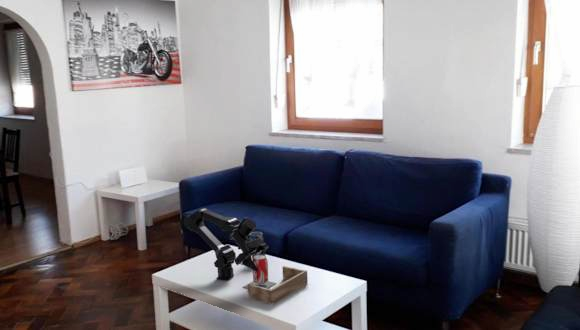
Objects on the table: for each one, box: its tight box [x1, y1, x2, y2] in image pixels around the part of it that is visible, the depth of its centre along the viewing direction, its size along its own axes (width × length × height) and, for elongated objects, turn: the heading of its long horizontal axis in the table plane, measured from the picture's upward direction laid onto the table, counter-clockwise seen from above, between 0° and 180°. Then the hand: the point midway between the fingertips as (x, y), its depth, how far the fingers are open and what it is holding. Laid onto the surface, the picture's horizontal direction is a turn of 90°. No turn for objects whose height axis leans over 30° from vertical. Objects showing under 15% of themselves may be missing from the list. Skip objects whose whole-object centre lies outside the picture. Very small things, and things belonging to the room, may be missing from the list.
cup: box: [248, 231, 263, 260], centre depth 280 cm, size 7×7×15 cm
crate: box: [247, 265, 309, 305], centre depth 243 cm, size 13×26×6 cm, turn 144°
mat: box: [242, 280, 277, 290], centre depth 250 cm, size 11×11×1 cm
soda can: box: [252, 254, 269, 284], centre depth 248 cm, size 7×7×12 cm
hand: (262, 268), depth 247 cm, fingers closed on soda can, 7 cm apart
